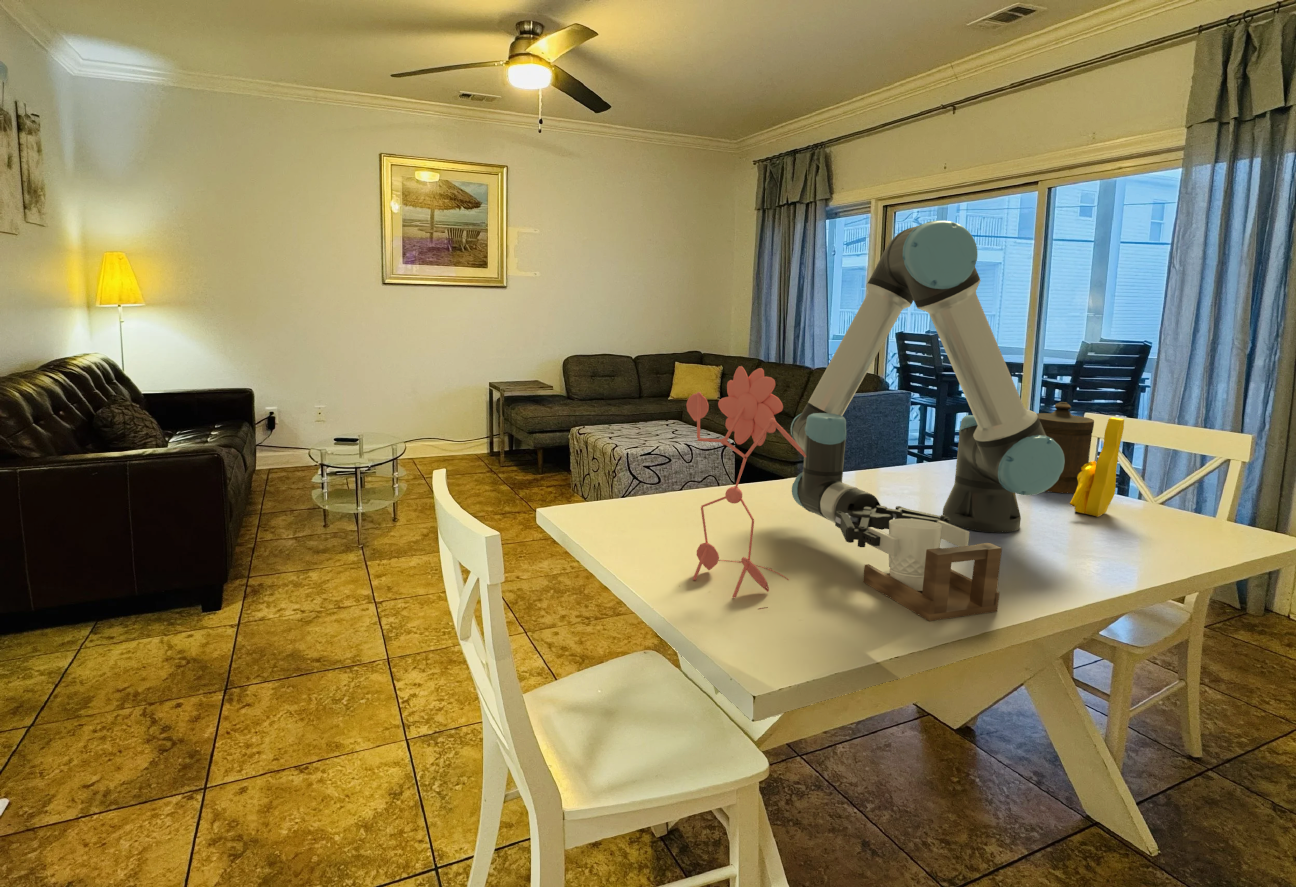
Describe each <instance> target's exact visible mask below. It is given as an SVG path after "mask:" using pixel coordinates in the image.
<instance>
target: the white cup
mask: <svg viewBox="0 0 1296 887" xmlns="http://www.w3.org/2000/svg"><path fill="white" fill-rule="evenodd" d="M941 533H942V525H941V524H939V523H936V522H932V521H926V520H919V519H895V518H893V520H890V521H889V529H888V535H891V536H893V537H895V538H897V539H899V543H898V554H897V556H895V557H893V556H891V555H889V554H888V567H889V573H890V576H891V577H893V578H895V579H896V580H898V581H900V582H902V583H904V584H906V585H907V586H909V587H911V588H913V589H915V590H916V591H923V580H924V570H925V559H926V549H935V548H941V540H942V539H941Z"/></svg>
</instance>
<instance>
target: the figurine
mask: <svg viewBox="0 0 1296 887" xmlns="http://www.w3.org/2000/svg"><path fill="white" fill-rule="evenodd" d="M775 380H776V379H774V378H773V377H771V376H765V370H764V369H763V368H762V367H761V368H756V369H755V370H753V371H752V372H751V373H750V374H749V376H748V373H747V371H746V370H745V368H744V367H743V366H742V365H741V366H739V365H738V367H737V368H736V370H735V371H734V374H733V379H730V380H728V381H727V385H726V389H727V390H726V391H727V395H728V396H725V397H722V398H721V399H719V400H718V403H717V406H718V409H719V410H720V412H721V413H722V414H723V415H725V416H726V417H727V418H726V419H725V423H724V424H725V428H726V430H728V431H727V433H726V434H725V436H724V437H723V438H720V439H719V438H709V437H708V438H706V437H701V419H703V418H705V417H706V416H707V413H708V412H709V406H710V405H709V402H708V399H707V397H705V396H704V395H703V394H702V392H701V391H697V392H696V393H692V395H690V396H689V397H688V398H687V401H686V404H685V405H686V406H685V407H686V411H687V413H688V414H689V416H690V417H691V419H692V420H693V421H694V422H696V438H697V442H705V443H707V442H708V443H709V442H710V443H721V445H722V446H726V447H728V448H729V449H730V450H733V451H734V452H735V453H736V454H737V455H739V456H740V457H742V458H743V459H742V463H741V465H740V469H739V473H738V475H737V479H736V483H735V485H734V486H731V487H729V488H727V489H726V490H725V495H724V496H722V497H720V498H717V499H714V500H712V501H709V502H707V503H704V504H702V505H701V507H700V511H701V512H700V514H701V519H702V526H703V527H702V528H703V532H704V540H705V542H703V543H700V544H699V545H698V548H697V550H696V557H697V559H698V560H699V562H698V565H697V567H696V569H695V572H694V575H693V577H692V580H693V581H696V580H697V578H698V576H699V573H700V571H701V568H702V566H704V568H706V569H707V570H708V571H710V570H712V569H713V568H714V567H715V566H716V565H718V562H720V561H721V562H733V563H739V564H742V565H743V568H742V571H741V573H740V576H739V579H738V581H737V583H736V587H735V589H734V592H733V594H732V598H737V595H738V593H739V591H740V588H741V585H742V583H743V581H744V578H745V575H746V572H747V573H748V574H749V576H751V578H752V579H753V580H754V581H755V582H756V583H757V584H758V585H759V586H761V588H762V589H763V590H765V591H766V592H767V593H769V591H770V587H769V585H768V584H769V583H768V581H767V579H766V578H765V576H764V575H763V573H762V572H761V570H759V568H758V567H760V568H763V569H764V570H765V569H766V570H768V571H771V572H773V573H775V574H778V575H780V576H782V577H784V578H785V579H786V580H787V581H789V580H790V579H788V578H787V577H786V576H785V575H783V574H781V573H779V572H777V571H775V570H773V569H772V568H771V567H767V566H766V567H765V566H761V565H757V564H754V563H753V562H752V560H751V554H752V546H753V538H754V537H753V535H754V527H755V526H754V525H755V518H754V516H753V515H752V513H751V512H750V510H749V508H748V507H747V506H748V505H747V504H746V503H745V501H744V499H743V492H742V490H741V488H739V484H740V480H741V476H742V474H743V472H744V469H745V466H746V462H747V460H748V457H749V456H750V455H751V454H752V453H753V451H754V450H755V448H756V447H757V446H758V447H760V446H762V445H764V443H765V441H766V439H767V434H768V433H770V434H773V433H775V432H776V429H777V430H778V431H779V433H780V434H781V435H782V436H783V437H784V439H786V440H787V441H788V442H789V444H790V445H792V447H793V448H795V449H796V450H797V452H799V454H801V455H802V456H803V458H804V457H806V455H805V453H804V451H803V449H802V448H800V446H799V445H798V444H797V443H796V442H795V441H794V439H793V437H792V435H791V434H789V433H788V432H787V431H786V430H785V429H784V427H783V426H781V425H780V424H779V423H778V422H777V420H776V417H775V415H777V414H779V413H781V412H782V411H783V409H784V405H783V402H782V401H781V399H780V397H778V396H776V395H774V394H773V391H774V389H775V387H776V381H775ZM732 432H734V435H733V436H734V442H735V443H736V445H742V444H744V443H746V441H747V440H748V439H749V438H750V437H751V438H752V441H753V444H752V445H751V446H750V448H749V449H748V451H747V452H746V453H745V454H744V453H743V452H742V451H740V450H739V449H738V448H737V447H735V446H734V445H733V444H731V443H730V442H729V441H728V440H729V437H730V436H731V434H732ZM725 499H726V501H727V502H729V503H730V504H733V505H734V504H738V503H740V502H741V504H742V506H743V507H744V509H745V511H746V513H747V514H748V516H749V518H750V520H751V525H750V534H749V535H750V536H749V545H748V555H747V556H748V557H746V556H742V557H741V560H739V561H738V560H736V559H735V560H727V559H720V556H719V552H718V551H717V549H716V547H715V546H714V545H712V544H711V543H709V541H708V533H707V525H706V518H705V512H704V508H705V507H707V506H710V505H713V504H715V503H718V502H720V501H722V500H723V501H724V500H725ZM768 608H769V606H763V607H760V608H757V610H764V609H768Z"/></svg>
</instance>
